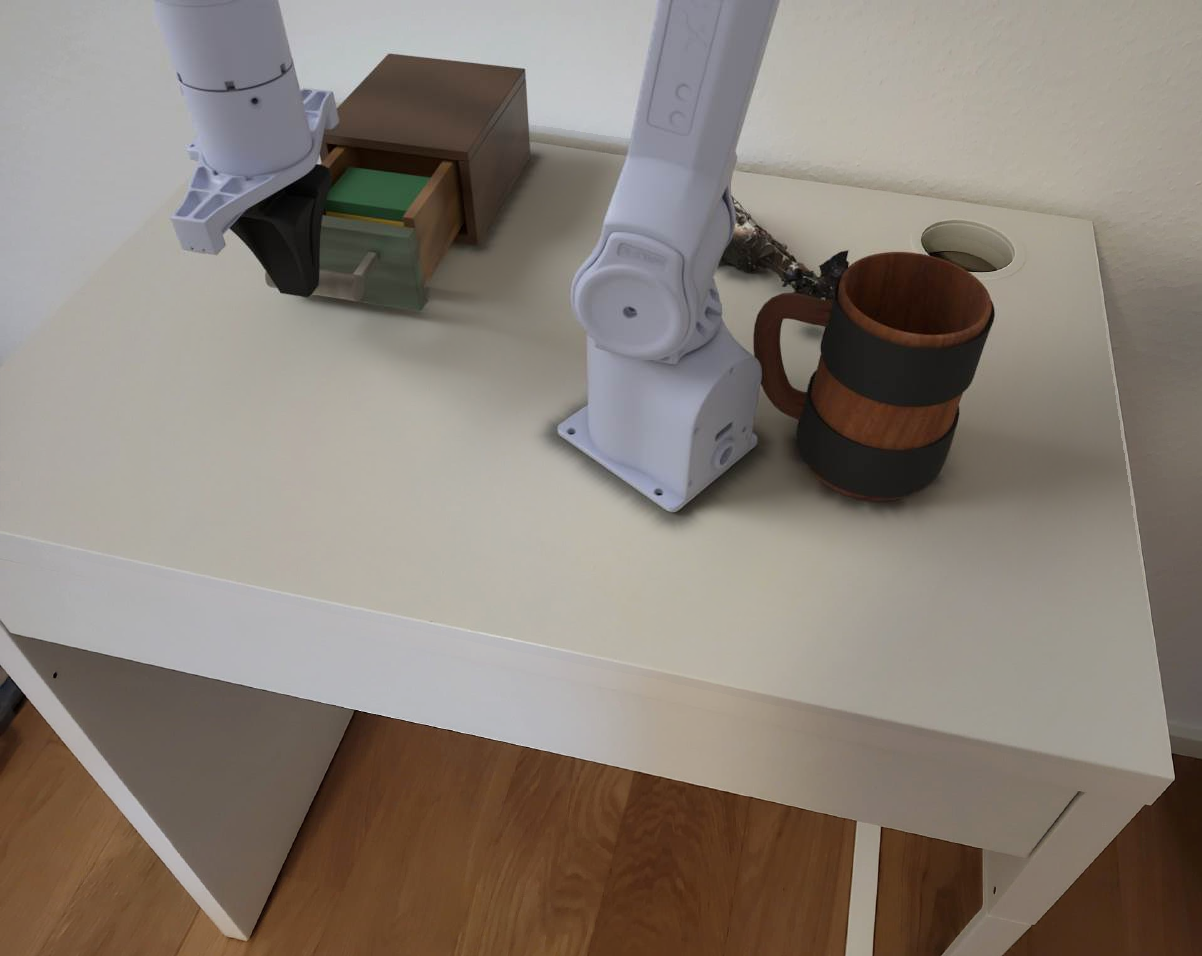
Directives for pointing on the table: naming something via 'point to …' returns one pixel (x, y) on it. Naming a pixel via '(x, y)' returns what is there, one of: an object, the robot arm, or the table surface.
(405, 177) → the sponge
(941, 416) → the mug
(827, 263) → the airplane wreck
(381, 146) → the cabinet
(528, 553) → the table surface
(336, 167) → the drawer
